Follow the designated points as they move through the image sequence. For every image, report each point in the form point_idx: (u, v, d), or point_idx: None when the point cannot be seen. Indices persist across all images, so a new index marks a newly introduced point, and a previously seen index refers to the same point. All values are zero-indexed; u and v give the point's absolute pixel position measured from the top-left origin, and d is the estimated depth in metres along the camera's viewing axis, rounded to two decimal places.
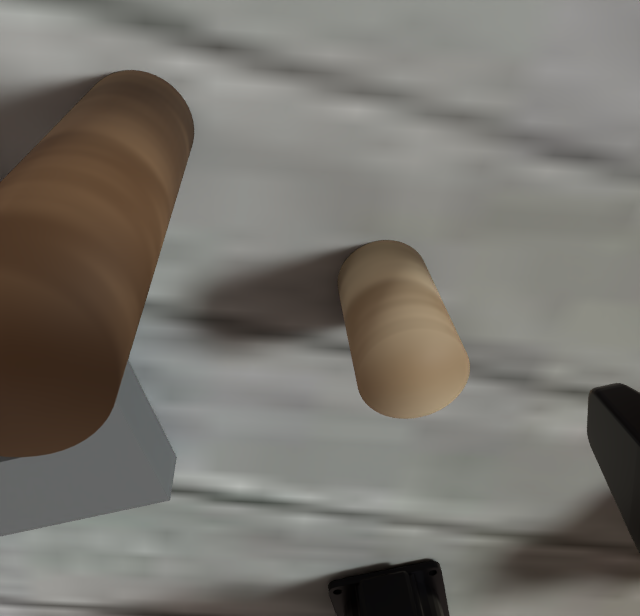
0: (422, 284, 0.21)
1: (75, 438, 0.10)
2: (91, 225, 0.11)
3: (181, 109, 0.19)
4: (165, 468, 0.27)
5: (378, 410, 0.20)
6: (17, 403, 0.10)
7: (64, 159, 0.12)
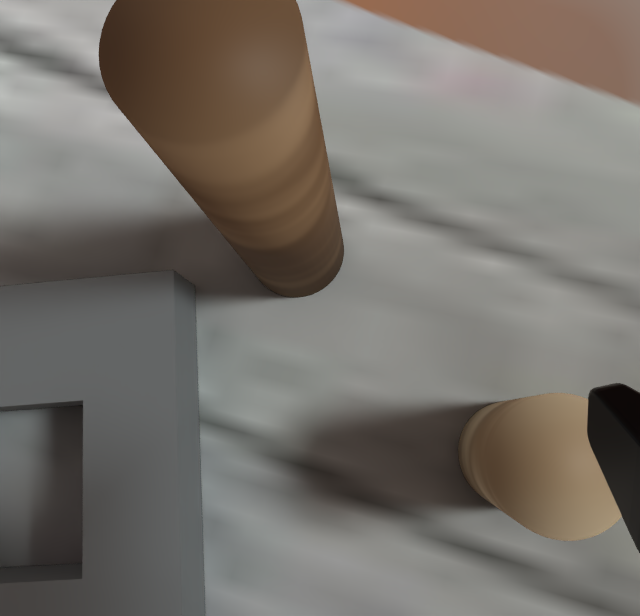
0: None
1: (235, 123, 0.10)
2: None
3: None
4: None
5: (514, 514, 0.15)
6: (201, 74, 0.10)
7: None
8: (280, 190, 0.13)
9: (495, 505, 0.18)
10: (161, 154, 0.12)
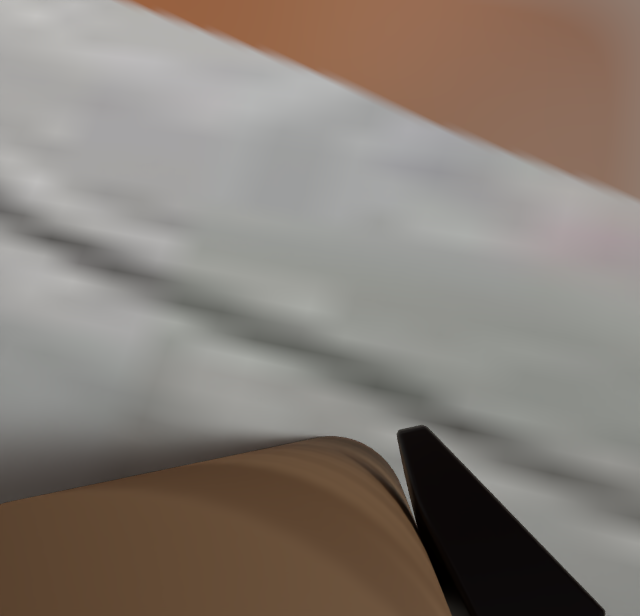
0: None
1: None
2: (407, 546, 0.04)
3: None
4: None
5: None
6: None
7: (315, 453, 0.07)
8: None
9: None
10: None
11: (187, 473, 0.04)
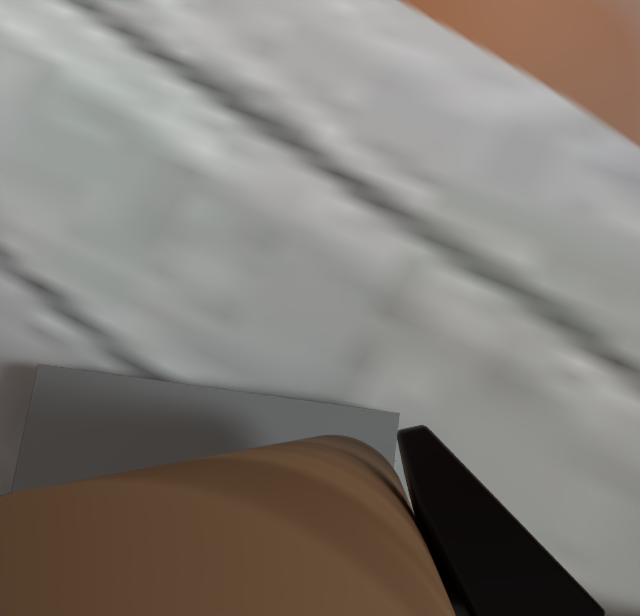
0: None
1: None
2: (409, 541, 0.04)
3: None
4: None
5: None
6: None
7: (316, 450, 0.07)
8: None
9: None
10: None
11: (190, 466, 0.04)
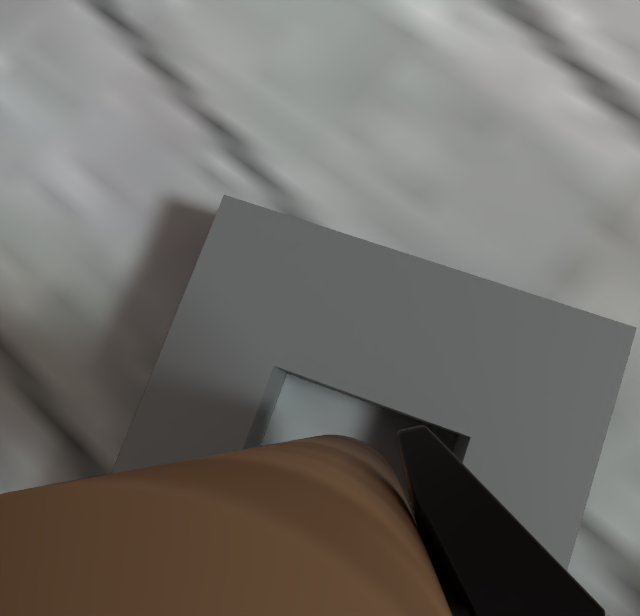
0: None
1: None
2: (406, 541, 0.04)
3: None
4: None
5: None
6: None
7: (314, 451, 0.07)
8: None
9: None
10: None
11: (185, 467, 0.04)
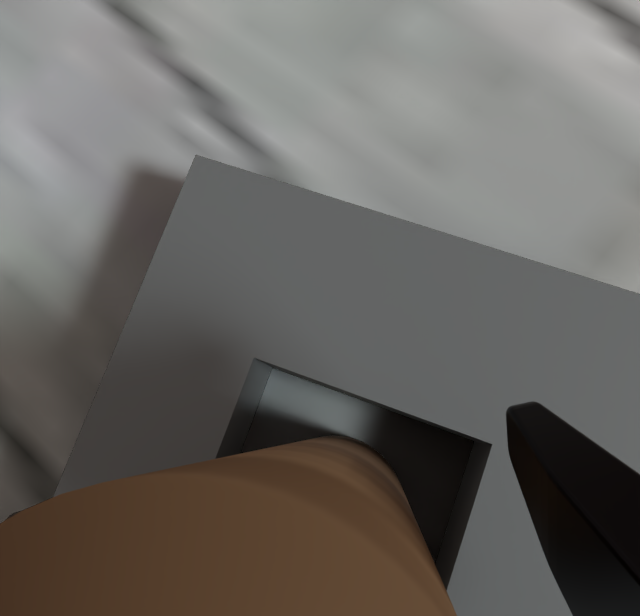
0: None
1: None
2: (407, 528, 0.05)
3: None
4: None
5: None
6: None
7: (323, 450, 0.08)
8: None
9: None
10: None
11: (227, 463, 0.04)
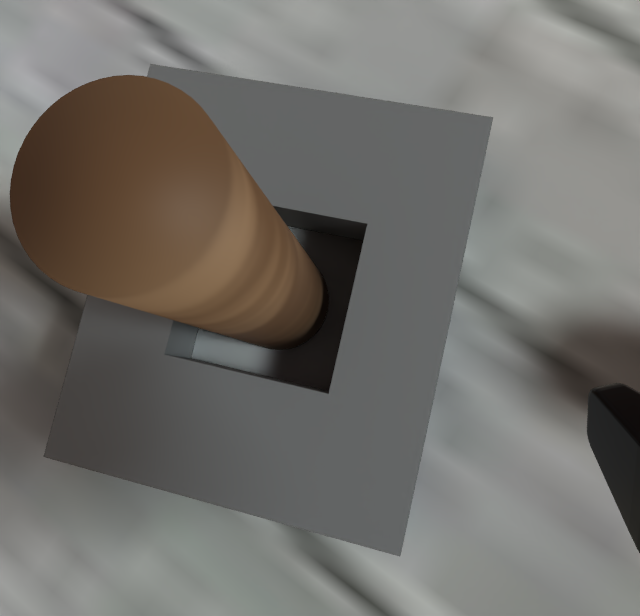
0: None
1: (163, 272, 0.09)
2: None
3: (320, 273, 0.21)
4: None
5: None
6: (122, 220, 0.09)
7: None
8: (235, 298, 0.12)
9: None
10: None
11: None
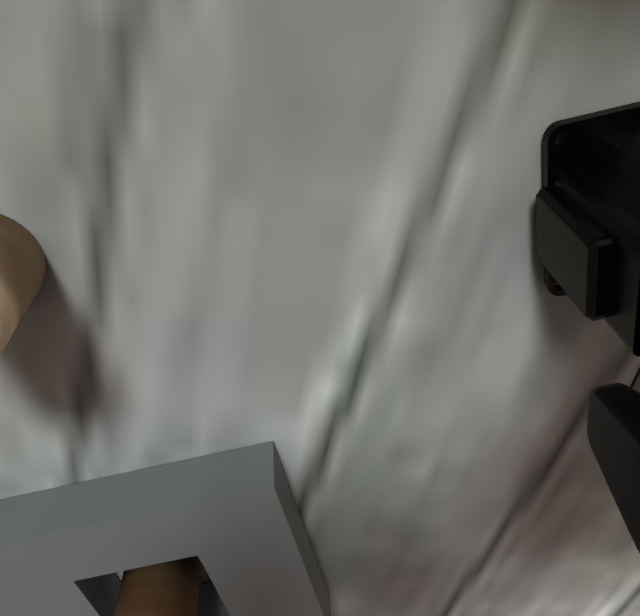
0: None
1: None
2: None
3: None
4: (251, 472, 0.25)
5: None
6: None
7: None
8: None
9: (7, 342, 0.18)
10: None
11: None
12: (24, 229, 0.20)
